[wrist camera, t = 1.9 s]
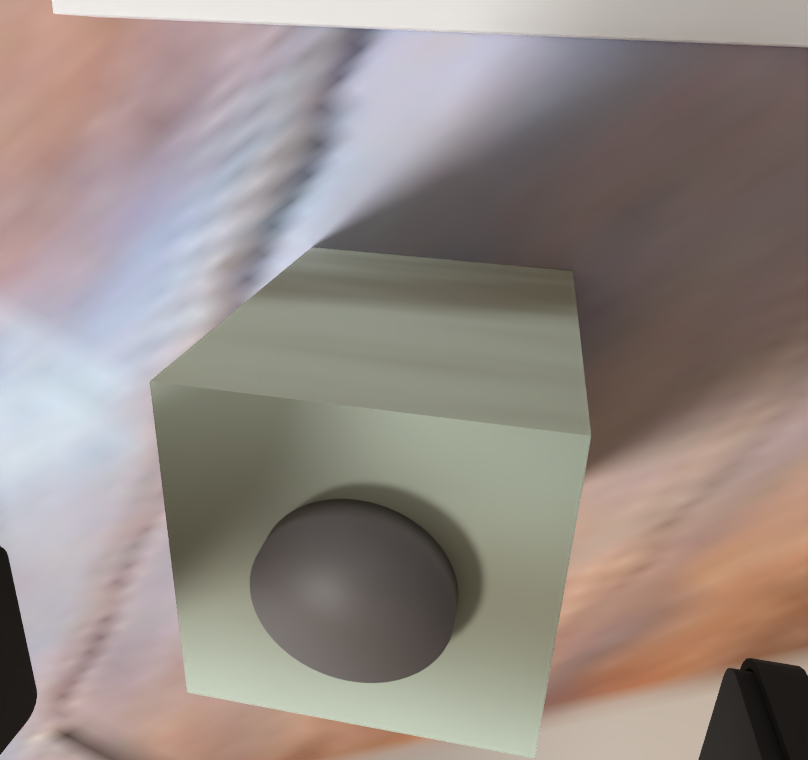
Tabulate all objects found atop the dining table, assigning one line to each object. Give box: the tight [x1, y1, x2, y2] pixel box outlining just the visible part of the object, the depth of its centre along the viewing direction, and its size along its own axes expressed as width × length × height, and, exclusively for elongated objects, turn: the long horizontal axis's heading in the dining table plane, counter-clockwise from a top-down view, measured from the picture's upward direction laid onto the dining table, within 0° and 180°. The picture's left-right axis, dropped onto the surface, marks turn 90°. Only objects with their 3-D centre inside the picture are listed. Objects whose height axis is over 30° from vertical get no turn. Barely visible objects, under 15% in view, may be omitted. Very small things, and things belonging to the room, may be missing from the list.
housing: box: [150, 247, 591, 758], centre depth 13 cm, size 6×6×7 cm
